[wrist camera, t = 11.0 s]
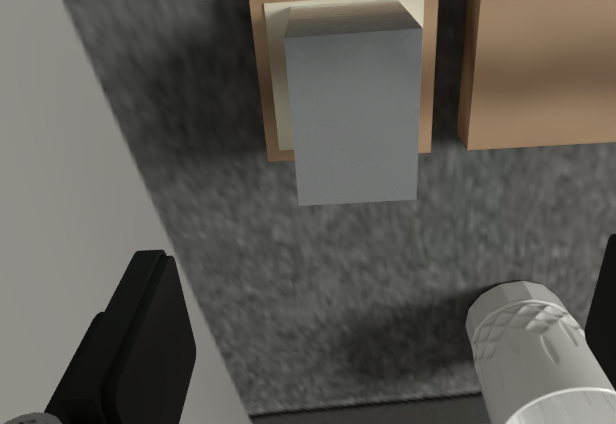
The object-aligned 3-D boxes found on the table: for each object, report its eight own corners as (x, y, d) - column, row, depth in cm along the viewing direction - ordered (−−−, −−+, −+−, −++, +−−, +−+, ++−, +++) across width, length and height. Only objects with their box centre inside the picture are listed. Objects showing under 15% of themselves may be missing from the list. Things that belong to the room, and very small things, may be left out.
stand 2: (469, -34, 26) (483, -29, 24) (653, -48, 26) (683, -44, 24) (456, 133, 31) (467, 150, 29) (612, 124, 31) (635, 140, 28)
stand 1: (253, -19, 27) (247, -12, 25) (429, -31, 27) (440, -26, 24) (271, 144, 32) (267, 162, 29) (422, 135, 31) (431, 153, 29)
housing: (291, 6, 25) (283, 38, 19) (396, -2, 25) (422, 28, 19) (302, 142, 29) (298, 205, 23) (394, 136, 28) (416, 199, 22)
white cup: (489, 370, 41) (536, 495, 32) (436, 309, 38) (472, 428, 29) (586, 323, 38) (664, 445, 30) (537, 253, 35) (610, 366, 27)
